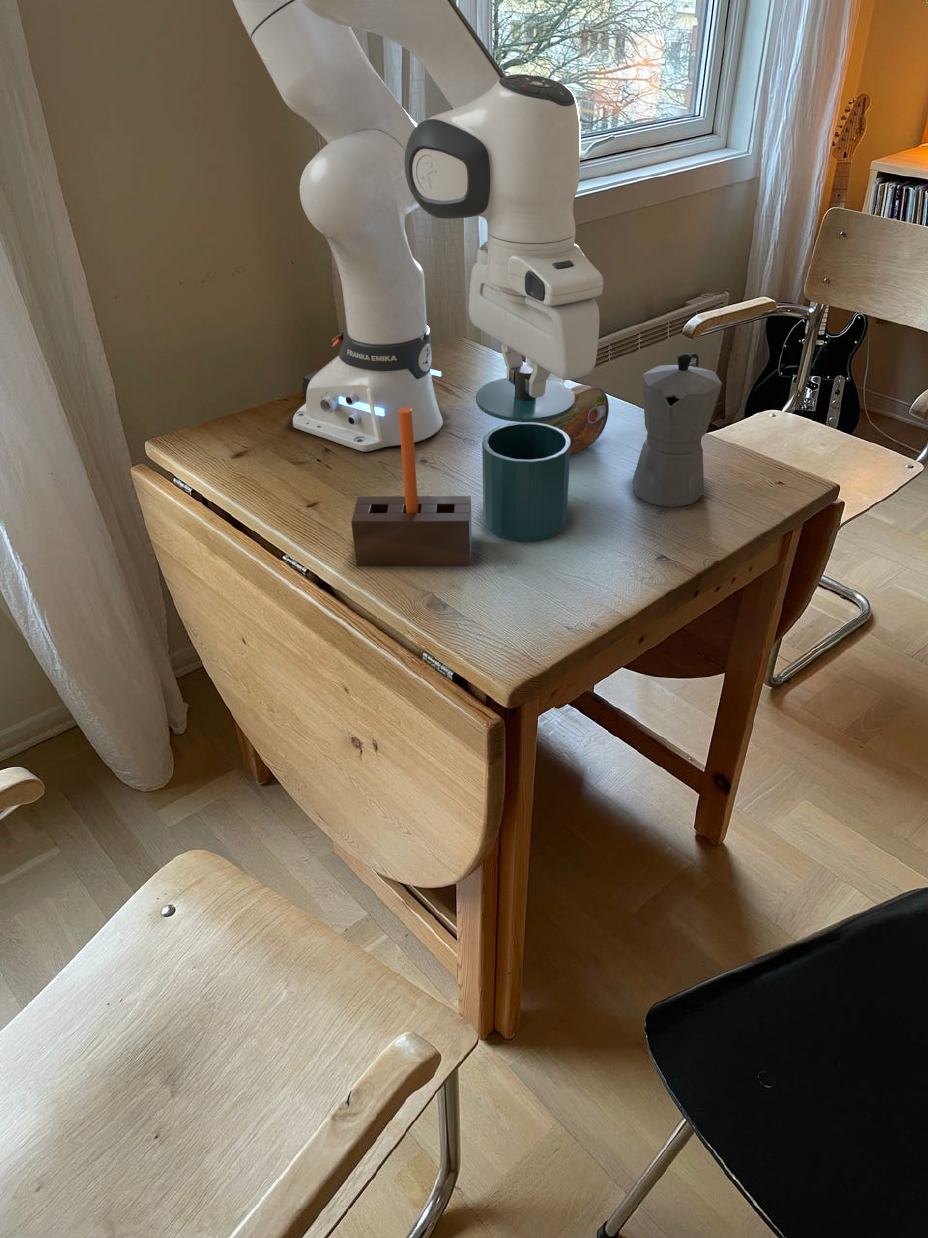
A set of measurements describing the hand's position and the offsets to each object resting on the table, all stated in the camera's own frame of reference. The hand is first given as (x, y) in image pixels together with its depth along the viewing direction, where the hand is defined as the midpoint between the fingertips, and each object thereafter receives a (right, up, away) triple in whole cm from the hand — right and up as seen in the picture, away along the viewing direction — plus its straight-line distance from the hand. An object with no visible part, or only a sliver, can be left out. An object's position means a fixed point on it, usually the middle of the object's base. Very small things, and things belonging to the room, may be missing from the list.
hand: (525, 388), depth 100 cm
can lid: (0, -1, +1) cm, 1 cm away
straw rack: (-13, -18, +5) cm, 23 cm away
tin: (+7, -2, +24) cm, 26 cm away
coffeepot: (+20, -9, +16) cm, 27 cm away
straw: (-13, -18, +5) cm, 23 cm away
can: (+1, -13, +10) cm, 17 cm away
